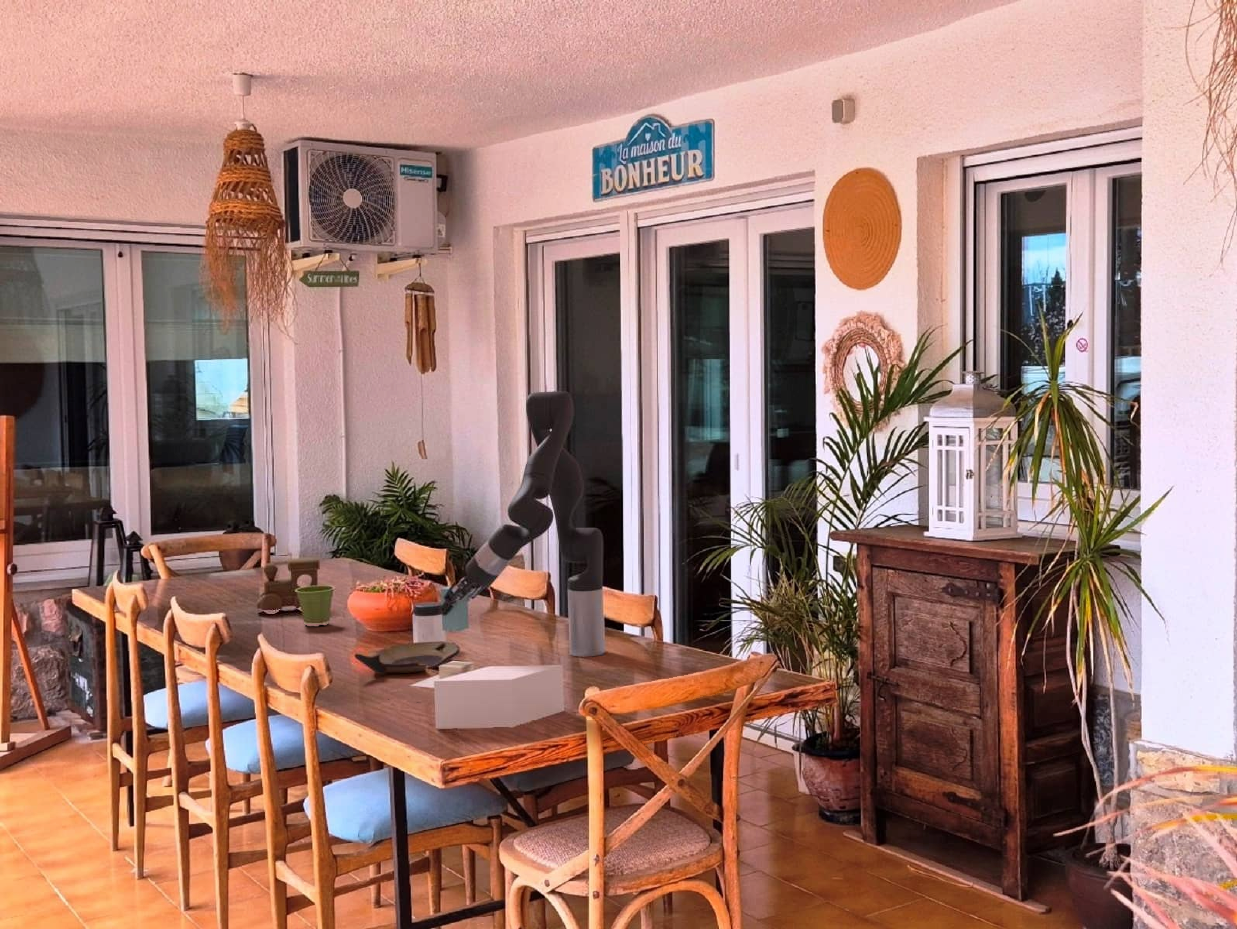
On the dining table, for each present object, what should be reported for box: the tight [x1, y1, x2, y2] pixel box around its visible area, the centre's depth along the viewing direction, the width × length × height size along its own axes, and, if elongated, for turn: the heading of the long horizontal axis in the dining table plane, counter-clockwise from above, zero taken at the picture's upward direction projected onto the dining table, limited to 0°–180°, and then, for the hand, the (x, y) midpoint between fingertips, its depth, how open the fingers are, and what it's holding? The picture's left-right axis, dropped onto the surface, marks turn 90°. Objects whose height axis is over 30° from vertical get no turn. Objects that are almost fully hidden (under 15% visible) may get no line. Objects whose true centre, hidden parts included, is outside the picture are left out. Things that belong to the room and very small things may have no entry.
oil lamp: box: [354, 641, 460, 675], centre depth 331 cm, size 22×30×8 cm
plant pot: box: [295, 585, 336, 623], centre depth 398 cm, size 12×12×11 cm
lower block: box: [438, 660, 475, 680], centre depth 314 cm, size 6×6×4 cm
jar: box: [412, 601, 447, 643], centre depth 360 cm, size 9×8×12 cm
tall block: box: [440, 585, 470, 632], centre depth 313 cm, size 4×4×10 cm
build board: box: [409, 674, 439, 689], centre depth 314 cm, size 16×16×1 cm
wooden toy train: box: [256, 557, 321, 611], centre depth 425 cm, size 20×11×17 cm, turn 107°
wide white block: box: [433, 664, 565, 730], centre depth 281 cm, size 14×29×10 cm, turn 115°
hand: (448, 610), depth 314 cm, fingers closed on tall block, 4 cm apart
